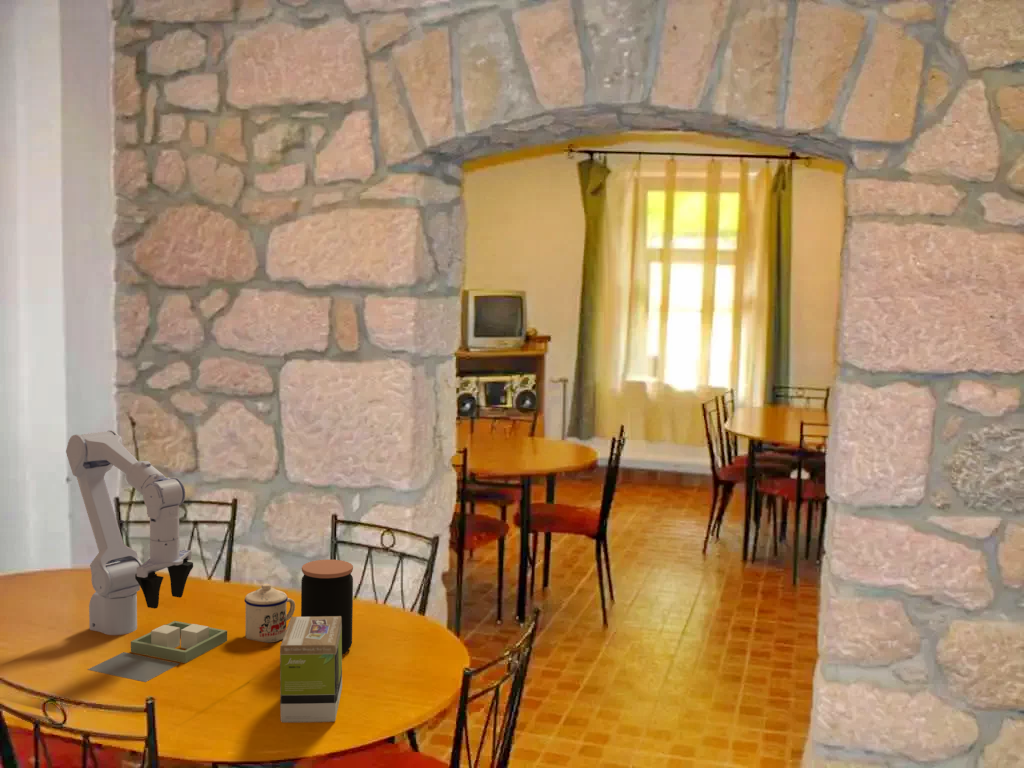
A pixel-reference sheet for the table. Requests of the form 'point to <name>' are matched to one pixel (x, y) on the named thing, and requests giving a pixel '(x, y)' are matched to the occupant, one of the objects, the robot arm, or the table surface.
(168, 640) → the stone cube near
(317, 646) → the tea box
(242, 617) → the table surface
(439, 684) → the table surface
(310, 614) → the coffee jar
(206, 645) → the olive dish
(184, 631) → the stone cube far
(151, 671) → the slate board
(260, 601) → the teacup with lid
